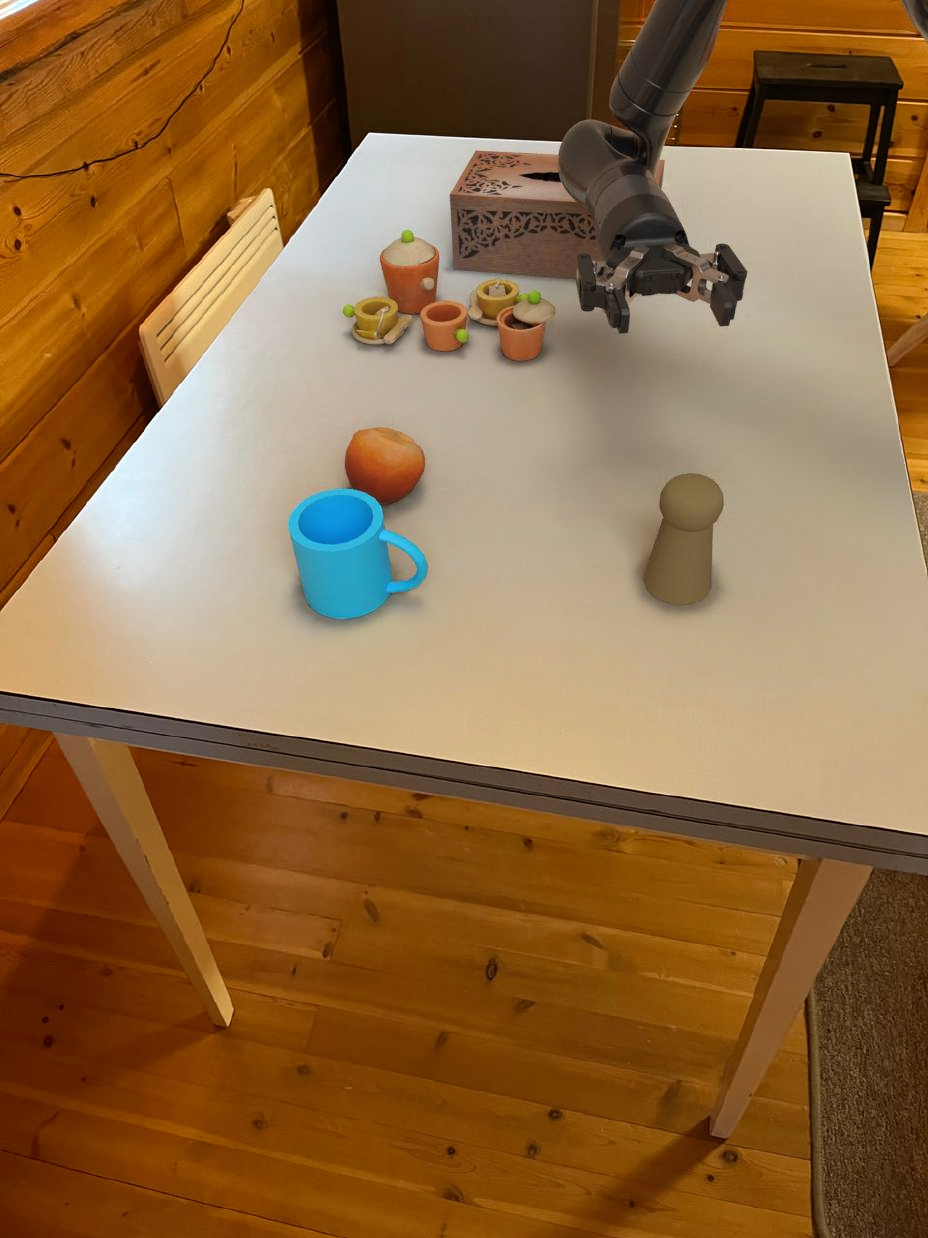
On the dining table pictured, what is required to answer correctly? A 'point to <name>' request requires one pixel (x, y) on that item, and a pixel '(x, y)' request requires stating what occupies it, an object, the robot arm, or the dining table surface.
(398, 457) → the fruit
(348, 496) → the mug
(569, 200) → the tissue box cover
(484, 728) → the dining table surface
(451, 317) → the toy tea set
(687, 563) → the cork
